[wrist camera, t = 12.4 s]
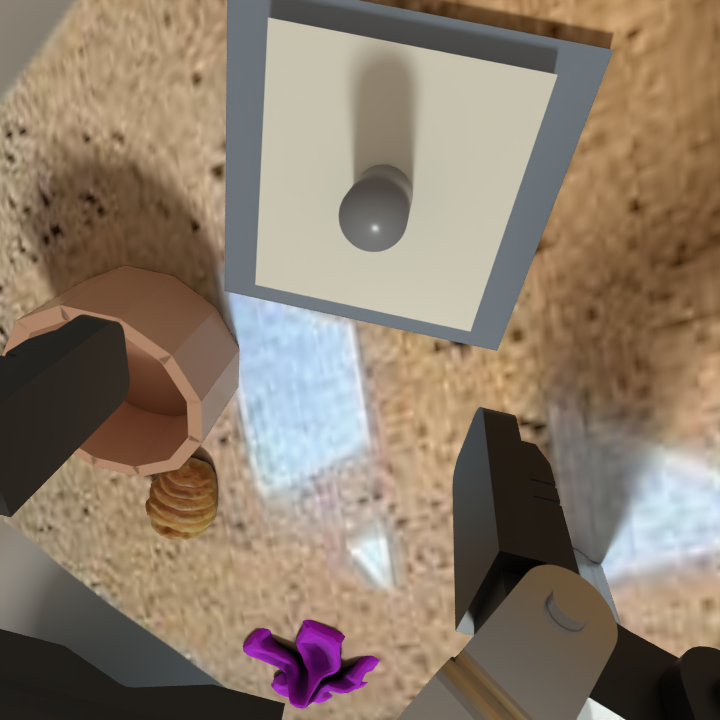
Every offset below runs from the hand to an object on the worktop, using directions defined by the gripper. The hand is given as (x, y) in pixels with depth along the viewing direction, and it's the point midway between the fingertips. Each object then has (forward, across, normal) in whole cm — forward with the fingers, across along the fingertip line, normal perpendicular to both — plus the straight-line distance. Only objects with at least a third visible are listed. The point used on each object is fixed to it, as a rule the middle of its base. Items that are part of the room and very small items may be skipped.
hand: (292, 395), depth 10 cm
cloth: (+23, -3, +60) cm, 64 cm away
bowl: (+22, +16, +16) cm, 32 cm away
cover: (+21, 0, 0) cm, 21 cm away
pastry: (+22, +14, +32) cm, 42 cm away
